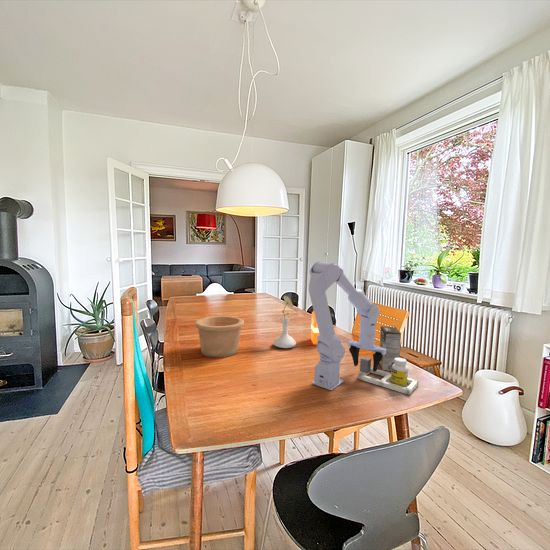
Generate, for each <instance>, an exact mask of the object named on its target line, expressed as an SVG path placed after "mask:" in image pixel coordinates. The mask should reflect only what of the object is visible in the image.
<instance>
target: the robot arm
mask: <svg viewBox="0 0 550 550" xmlns="http://www.w3.org/2000/svg"><path fill="white" fill-rule="evenodd" d="M309 274H310V275H309V276H310V277H309V283H308V293H309V296H310V297H309V298H310V302H311V306H312V309H313V311H314V314H315V318H316V322H317V326H318V330H319V334H320V335H318V337H317V344H316V351H317V352H318V353H319V361H318V363H317V364H316V365H315V366H314V379H313V381H312V382H311V384H312V385H315V386H318V387H320V388H323V389H326V390H329V391H333V390H334V389H336V388H337V387H338V386H341V384H342V383H344V380H343V379H341V378H340V374H341V373H340V372H341V370H340V368H341V362H342V360H343V359H344V357H345V354H346V348H345V347H344V345H343V344H342V341H341V339H340V338H339V336H338V335H337V334H336V332H335V328H334V323H333V320H332V319H333V318H332V314H331V310H330V306H329V303H328V297H327V294H326V291H328V289H329V288H330V287H331V286H332V285H333V284H334V283H336V285H338V286H339V287H340V288H341V289H342V290H343V291H344V292H345V293H346V294H347V300H348V301H349V302H350V303H351V304H352V305H353V306H354V307H355V309H356V312H357V315H359V316H360V319H359V335H358V336H359V337H358V341H355V340H351V339H350V340H348V341H347V346H348V350H349V352H350V355H351V357H352V360H353V367H357V366H358V365H359V356H360V355H359V354H360V350H364V351H369V352H373V353H372V358H373V359H372V361H373V364H372V365H373V367H372V368H373V372H375V371H377V369H378V366H379V365H380V363H379V362H380V360H381V358H382V357H383V355H385V354H386V349H385V348H382V347H380V345H377V344H375V341H376V325H377V321H378V318H379V316H380V314H381V310H380V309H379V306H378V305H376V304H375V303H373V302H372V300H371V299H370V298H368V296H367V295H366V294H365V291H364V290H363V289H360V288H355V285H353V284H352V282H351V281H350V280H349V278H348V277H347V275H346V274H345V273H344V269H343V268H342V267H340V265H339V264H338V263H335V262H325V261H316V262H315V263H314V264H313V265H312V266H311V268H310V269H309Z"/></svg>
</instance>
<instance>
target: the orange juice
mask: <svg viewBox="0 0 550 550" xmlns="http://www.w3.org/2000/svg"><path fill="white" fill-rule="evenodd" d="M318 335H320V334H319V330H318V326H317V322H316V318H315V314H314V310H313V311H312V312H311V323H310V340H311V342H312V344H313V345H317V337H318Z"/></svg>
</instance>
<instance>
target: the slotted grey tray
mask: <svg viewBox="0 0 550 550" xmlns="http://www.w3.org/2000/svg"><path fill="white" fill-rule="evenodd" d="M370 373H371V374H374V375H379V376H382V377H383V378H381V379H379V378H376V377H372V376H368V375H370ZM357 380H360V381H364V382H366V383H371V384H373V385H377V386H379V387H383V388H385V389H390V390H393V391H396V392H398V393H402V394H406V395H409V396H411V394H412V393H413V392H414V390H416V388H417V387H418V386H419V382H420V381H419V380H417V379H414V378H411V377H407V387H406V388H405V387H402V386H399V385H396V384H392V383H391V372H390V371H385V370H383V369H378V368H377V371H375V372H373V367H372V358H369V357H367V356H363V357H361V358H360V360H359V373H358V374H357Z"/></svg>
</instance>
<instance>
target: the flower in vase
mask: <svg viewBox="0 0 550 550" xmlns="http://www.w3.org/2000/svg"><path fill="white" fill-rule="evenodd" d="M283 299H284V302H285V305H284V308H283V309H282V314H283V317H280V321H281V323H282V333H281V334H280V335H279V336H277V337H276V338H275V339H274V340H273V343H272V344H273V346H275V347H277V348H280V349H291V348H294V347H295V346H296V345H297V342H296V340H295V339H294V338H293V337H292V336H290V335H289V334H288V333H289V332H288V325H289V322H290V320H291V318H288V317H286V316H287V315H289V312H287V313H286V314H285V309H286V307H288V308H289V309H291V310H294V304H293V302H292V299H290V297H289V296H286V295H283Z"/></svg>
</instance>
